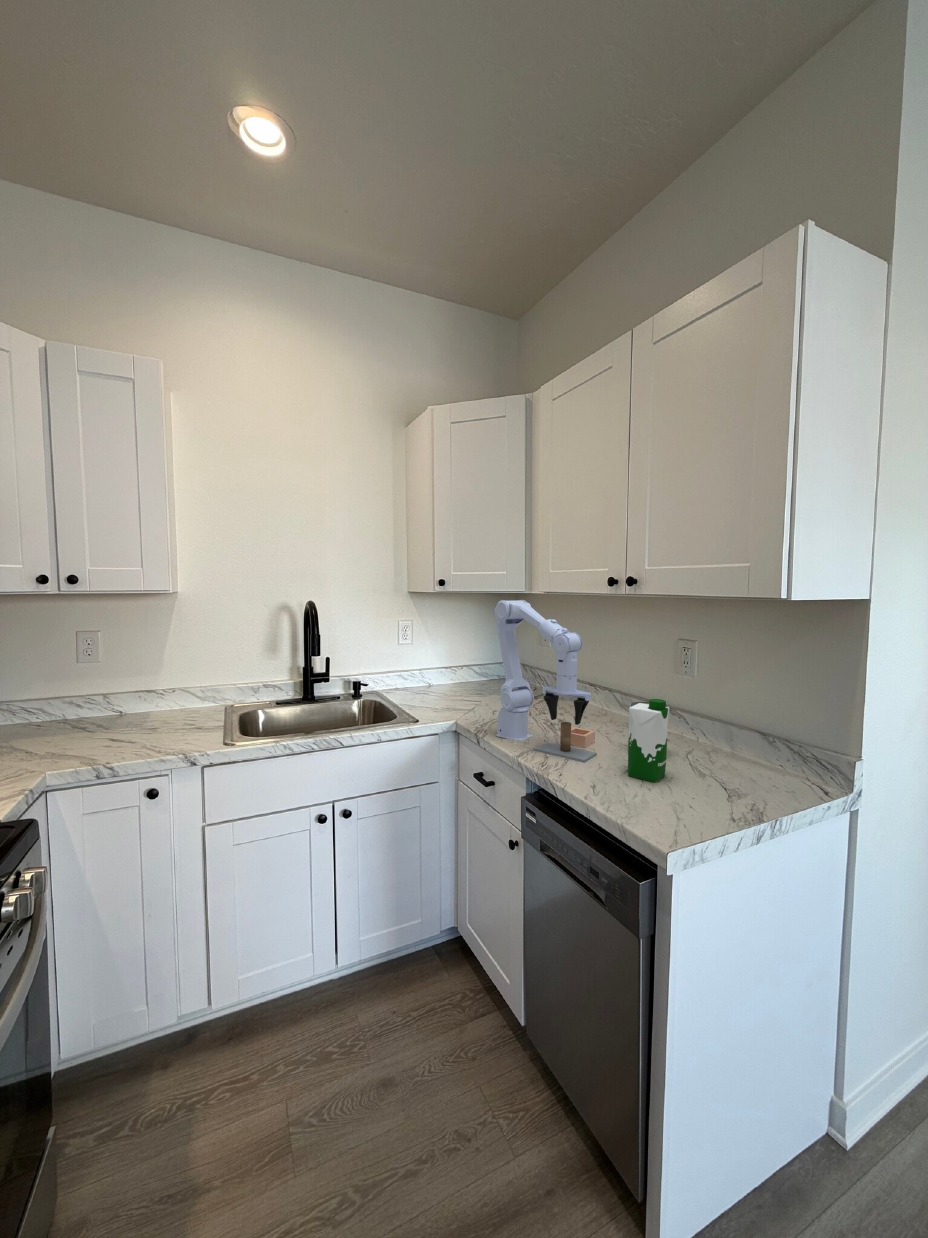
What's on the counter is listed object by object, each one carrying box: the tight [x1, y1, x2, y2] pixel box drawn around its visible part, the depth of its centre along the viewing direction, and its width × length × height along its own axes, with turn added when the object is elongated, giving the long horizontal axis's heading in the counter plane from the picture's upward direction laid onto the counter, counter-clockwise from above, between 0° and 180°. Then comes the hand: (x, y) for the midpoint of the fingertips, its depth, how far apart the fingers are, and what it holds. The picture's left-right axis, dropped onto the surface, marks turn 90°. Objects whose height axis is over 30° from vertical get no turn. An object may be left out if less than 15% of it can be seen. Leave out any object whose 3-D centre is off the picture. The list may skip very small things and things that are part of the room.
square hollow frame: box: [571, 726, 596, 749], centre depth 159 cm, size 7×7×4 cm
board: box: [533, 741, 598, 764], centre depth 149 cm, size 16×8×1 cm, turn 52°
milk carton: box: [627, 698, 670, 784], centre depth 132 cm, size 9×9×20 cm
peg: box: [559, 721, 572, 752], centre depth 149 cm, size 3×3×8 cm
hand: (565, 721), depth 149 cm, fingers open, 7 cm apart
